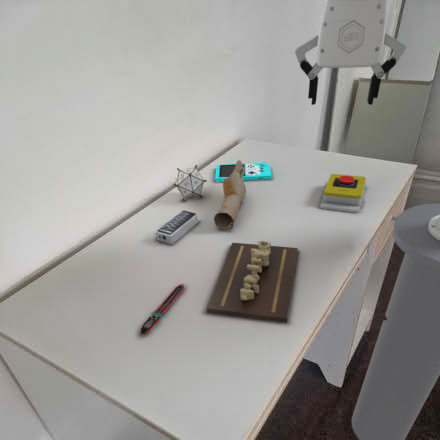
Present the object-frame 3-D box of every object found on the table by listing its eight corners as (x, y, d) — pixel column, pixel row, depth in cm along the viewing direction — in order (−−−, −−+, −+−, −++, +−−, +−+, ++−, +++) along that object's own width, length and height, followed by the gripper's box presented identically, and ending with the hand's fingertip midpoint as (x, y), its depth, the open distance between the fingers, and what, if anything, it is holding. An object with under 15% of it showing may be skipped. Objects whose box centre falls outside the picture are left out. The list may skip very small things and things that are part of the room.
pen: (187, 286, 71) (187, 283, 71) (146, 336, 62) (145, 334, 61) (179, 284, 72) (178, 281, 71) (137, 333, 63) (136, 330, 62)
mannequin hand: (209, 235, 89) (237, 182, 105) (237, 232, 85) (262, 177, 101) (198, 210, 84) (229, 158, 100) (227, 206, 81) (255, 153, 97)
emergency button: (368, 169, 95) (362, 196, 85) (365, 185, 98) (359, 213, 88) (331, 166, 98) (321, 191, 88) (329, 182, 101) (319, 208, 91)
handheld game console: (271, 179, 105) (271, 175, 104) (215, 182, 106) (214, 178, 105) (268, 165, 112) (269, 161, 111) (216, 168, 113) (216, 163, 112)
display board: (297, 251, 78) (297, 247, 77) (286, 322, 62) (287, 318, 62) (232, 246, 81) (232, 242, 80) (207, 312, 66) (206, 308, 65)
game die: (197, 211, 101) (198, 194, 91) (168, 199, 101) (167, 180, 91) (209, 184, 103) (212, 165, 93) (181, 172, 103) (181, 151, 93)
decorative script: (254, 248, 78) (254, 234, 75) (272, 250, 77) (273, 236, 75) (238, 304, 65) (237, 289, 63) (259, 306, 64) (259, 292, 62)
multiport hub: (199, 222, 89) (198, 213, 88) (171, 244, 83) (170, 235, 81) (184, 218, 91) (183, 209, 90) (156, 240, 85) (154, 231, 83)
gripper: (297, -18, 54) (290, 108, 65) (426, -27, 50) (395, 108, 62) (301, -20, 59) (294, 97, 71) (418, -29, 56) (390, 96, 67)
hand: (341, 102), depth 66 cm, fingers open, 9 cm apart
